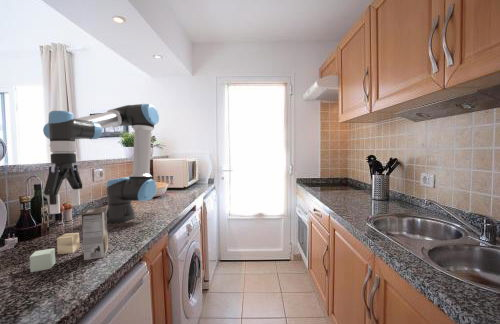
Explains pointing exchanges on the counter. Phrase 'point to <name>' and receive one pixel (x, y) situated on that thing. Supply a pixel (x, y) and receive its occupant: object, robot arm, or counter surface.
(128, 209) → the robot arm
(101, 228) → the coffee box
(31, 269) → the sage block
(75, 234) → the maple block
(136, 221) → the counter surface
